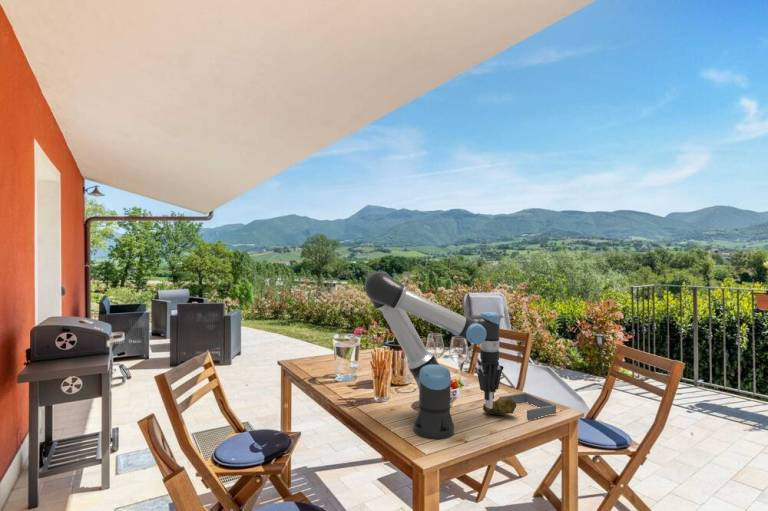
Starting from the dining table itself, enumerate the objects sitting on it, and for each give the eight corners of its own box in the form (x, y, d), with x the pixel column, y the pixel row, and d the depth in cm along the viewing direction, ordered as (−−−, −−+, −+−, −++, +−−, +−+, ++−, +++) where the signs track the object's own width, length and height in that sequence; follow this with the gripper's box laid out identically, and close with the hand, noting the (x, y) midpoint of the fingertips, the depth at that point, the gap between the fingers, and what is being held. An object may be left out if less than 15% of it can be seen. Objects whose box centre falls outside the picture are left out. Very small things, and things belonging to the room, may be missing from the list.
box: (528, 420, 173) (528, 410, 173) (498, 405, 189) (499, 396, 189) (555, 414, 180) (556, 405, 180) (525, 401, 196) (525, 392, 196)
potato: (490, 408, 185) (490, 390, 185) (518, 417, 176) (519, 397, 176) (480, 413, 179) (481, 394, 179) (509, 422, 170) (509, 402, 170)
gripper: (482, 353, 169) (482, 412, 169) (508, 350, 174) (507, 408, 174) (471, 349, 176) (470, 406, 176) (496, 346, 181) (495, 402, 181)
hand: (489, 407), depth 175 cm, fingers closed
